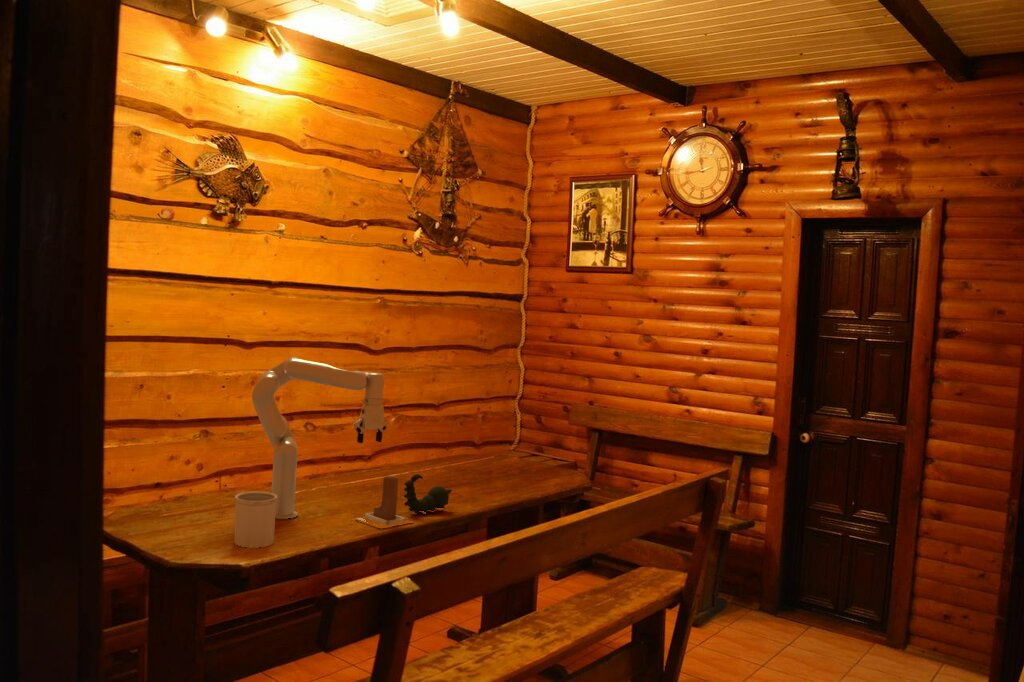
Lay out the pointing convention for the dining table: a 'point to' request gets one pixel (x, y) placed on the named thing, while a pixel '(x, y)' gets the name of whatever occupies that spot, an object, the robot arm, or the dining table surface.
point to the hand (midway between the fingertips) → (369, 442)
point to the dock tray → (372, 517)
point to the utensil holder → (255, 519)
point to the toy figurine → (425, 497)
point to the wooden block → (388, 499)
